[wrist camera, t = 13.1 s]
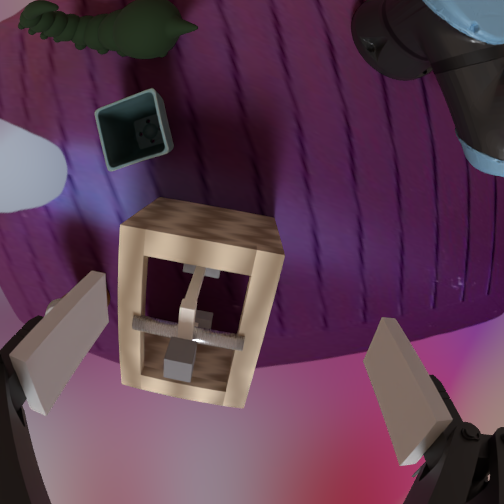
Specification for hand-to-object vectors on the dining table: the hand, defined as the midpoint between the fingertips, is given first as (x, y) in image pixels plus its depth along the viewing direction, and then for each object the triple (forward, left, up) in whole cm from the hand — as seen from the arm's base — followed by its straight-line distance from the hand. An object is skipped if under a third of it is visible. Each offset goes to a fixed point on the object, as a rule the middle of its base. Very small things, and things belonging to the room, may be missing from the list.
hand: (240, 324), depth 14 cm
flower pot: (+16, -7, -35) cm, 40 cm away
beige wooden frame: (+4, +15, -35) cm, 39 cm away
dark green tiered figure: (+23, -22, -35) cm, 48 cm away
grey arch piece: (+4, +14, -29) cm, 33 cm away
